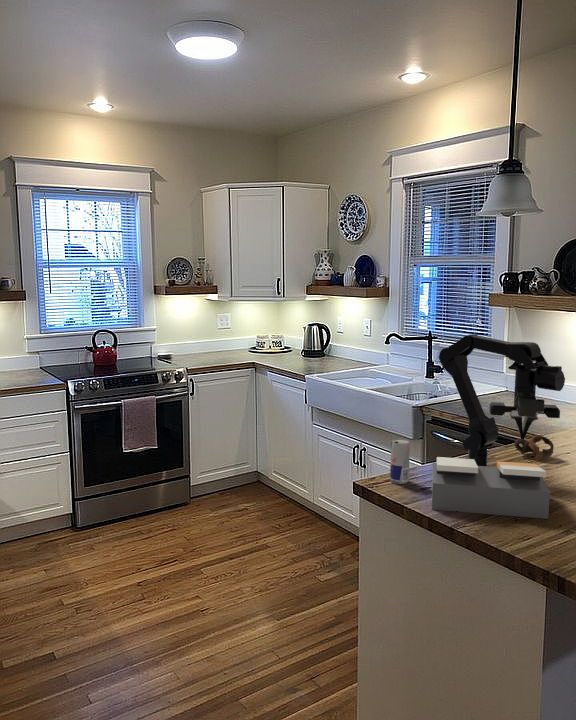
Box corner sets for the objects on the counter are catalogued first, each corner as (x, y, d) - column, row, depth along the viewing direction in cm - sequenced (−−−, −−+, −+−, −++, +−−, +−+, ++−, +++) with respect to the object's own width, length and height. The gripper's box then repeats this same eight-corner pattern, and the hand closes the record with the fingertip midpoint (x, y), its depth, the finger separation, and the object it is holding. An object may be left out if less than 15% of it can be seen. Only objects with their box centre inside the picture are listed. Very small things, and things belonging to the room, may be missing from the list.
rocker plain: (436, 461, 179) (436, 456, 179) (473, 464, 177) (473, 459, 177) (437, 470, 163) (437, 465, 163) (478, 473, 161) (478, 467, 161)
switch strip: (432, 486, 181) (433, 457, 180) (537, 494, 175) (538, 464, 174) (431, 509, 164) (433, 477, 163) (548, 518, 158) (550, 485, 157)
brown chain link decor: (545, 454, 215) (555, 436, 210) (547, 474, 208) (557, 456, 203) (509, 444, 216) (518, 426, 211) (510, 463, 209) (519, 445, 204)
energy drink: (388, 478, 188) (389, 438, 187) (406, 478, 189) (407, 438, 187) (392, 484, 183) (393, 443, 181) (410, 484, 183) (412, 443, 182)
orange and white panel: (496, 466, 175) (496, 461, 175) (535, 469, 173) (535, 463, 173) (503, 474, 160) (503, 468, 160) (545, 477, 158) (545, 471, 158)
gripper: (493, 389, 179) (491, 444, 181) (565, 392, 175) (561, 448, 177) (490, 383, 189) (488, 434, 192) (557, 385, 185) (554, 438, 188)
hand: (522, 438), depth 187 cm, fingers closed
